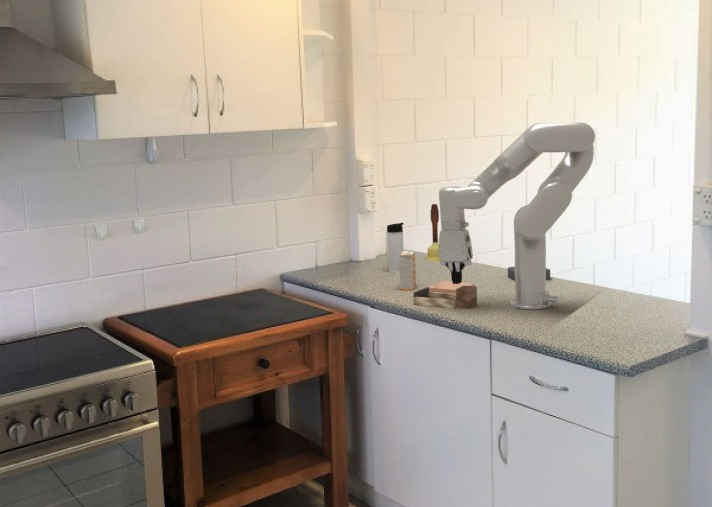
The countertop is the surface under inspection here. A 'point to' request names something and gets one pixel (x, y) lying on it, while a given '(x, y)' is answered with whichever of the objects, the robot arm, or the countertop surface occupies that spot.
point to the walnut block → (466, 297)
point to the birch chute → (434, 299)
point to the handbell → (434, 235)
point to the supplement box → (407, 270)
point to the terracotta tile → (447, 287)
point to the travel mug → (394, 245)
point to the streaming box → (512, 273)
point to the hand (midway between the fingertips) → (457, 283)
